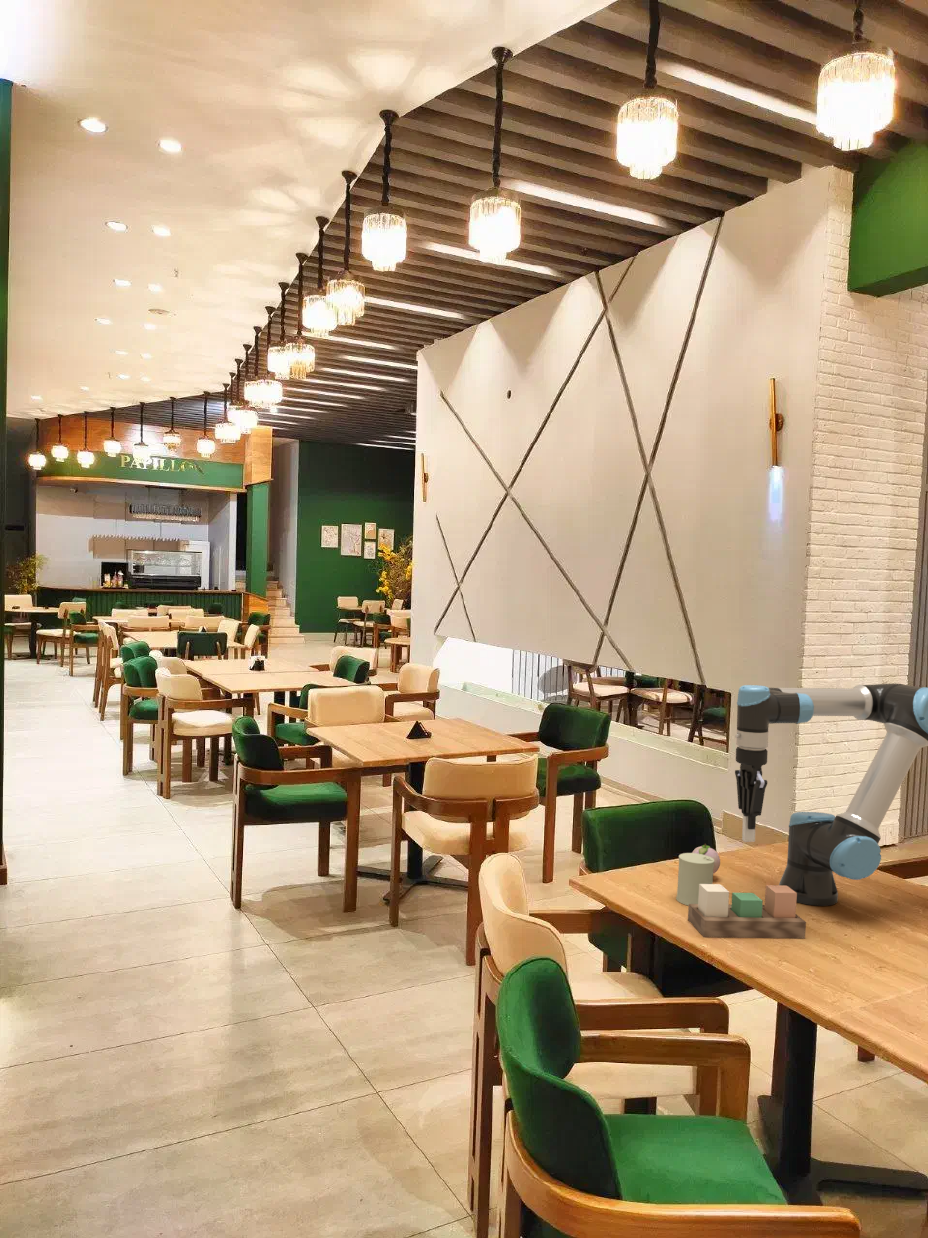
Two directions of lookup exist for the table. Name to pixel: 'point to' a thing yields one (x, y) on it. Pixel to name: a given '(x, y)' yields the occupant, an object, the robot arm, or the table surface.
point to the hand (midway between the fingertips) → (748, 840)
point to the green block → (746, 905)
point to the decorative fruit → (711, 853)
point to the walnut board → (746, 925)
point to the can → (693, 876)
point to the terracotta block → (780, 901)
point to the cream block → (713, 900)
